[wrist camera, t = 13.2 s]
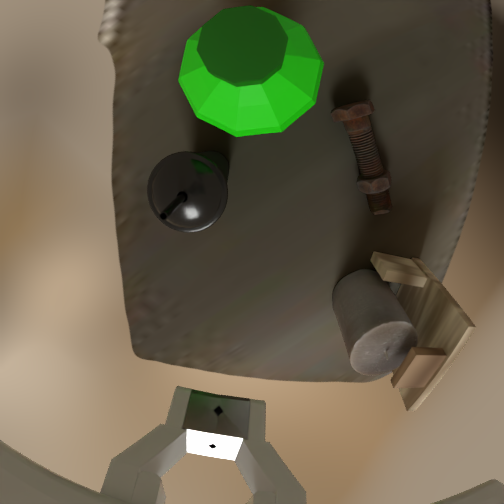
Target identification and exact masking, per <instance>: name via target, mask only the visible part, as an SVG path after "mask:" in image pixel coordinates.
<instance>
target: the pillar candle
mask: <svg viewBox="0 0 504 504" xmlns="http://www.w3.org/2000/svg"><path fill="white" fill-rule="evenodd" d="M332 302H333V309H334V312H335V315H336V318H337V321H338V324H339V327H340V330H341V333H342V336H343V339H344V342H345V346H346V349H347V352H348V355H349V359H350V362H351V365H352V367H353V369H355V370H356V371H357V372H359V373H361V374H364V375H370V376H372V375H381V374H384V373H388V372H390V371H392V370H394V369H396V368H398V367H399V366H400V365H401V363H402V362H403V360H404V359H405V357H406V356H407V354H408V352H409V351H410V349H411V348H412V347H416V346H417V343H418V335H417V332H416V329H415V328H414V326H413V324H412V323H411V321H410V319H409V317H408V316H407V314H406V312H405V311H404V309H403V308H402V306H401V304H400V303H399V301H398V300H397V298H396V296H395V295H394V293H393V292H392V290H391V289H390V287H389V286H388V284H387V282H386V281H383V280H382V278H381V277H380V275H379V273H378V272H376V271H373V270H369V269H361V270H358V271H355V272H353V273H351V274H349V275H347V276H345V277H344V278H342V279H341V280H340V281H339V282H338V284H337V285H336V287H335V289H334V291H333V295H332Z"/></svg>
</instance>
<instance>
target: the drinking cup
mask: <svg viewBox="0 0 504 504" xmlns="http://www.w3.org/2000/svg"><path fill="white" fill-rule="evenodd" d="M228 174H229V164H228V161H227V160H226V158H225V157H224V156H223V155H222V154H220V153H218V152H215V151H206V152H198V153H196V152H188V151H185V152H178V153H174V154H171V155H169V156H167V157H165V158H164V159H162V160H161V161H160V162H159V163H158V164H157V165H156V166H155V168H154V169H153V171H152V172H151V174H150V177H149V180H148V185H147V196H148V201H149V204H150V207H151V209H152V211H153V213H154V214H155V216H156V217H157V218H158V219H159V220H160V221H161V222H162V223H163V224H165V225H166V226H168V227H169V228H171V229H174V230H177V231H180V232H198V231H201V230H204V229H206V228H208V227H210V226H211V225H213V224H214V223H215V222H216V221H217V220H218V219H219V218H220V216H221V215H222V213H223V211H224V209H225V207H226V204H227V199H228V187H227V180H228Z"/></svg>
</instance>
